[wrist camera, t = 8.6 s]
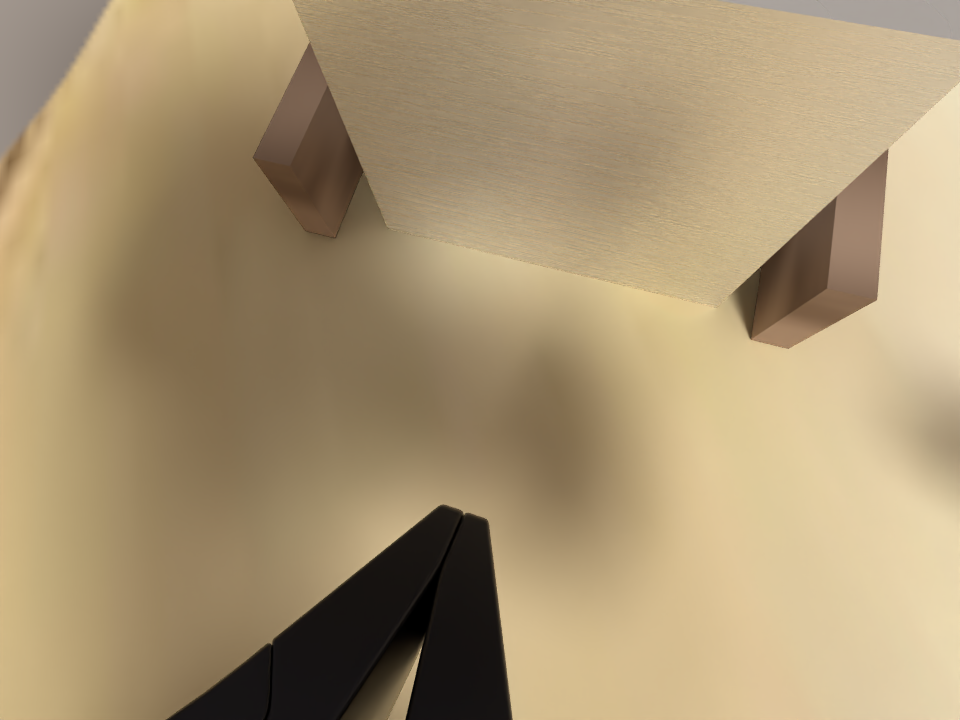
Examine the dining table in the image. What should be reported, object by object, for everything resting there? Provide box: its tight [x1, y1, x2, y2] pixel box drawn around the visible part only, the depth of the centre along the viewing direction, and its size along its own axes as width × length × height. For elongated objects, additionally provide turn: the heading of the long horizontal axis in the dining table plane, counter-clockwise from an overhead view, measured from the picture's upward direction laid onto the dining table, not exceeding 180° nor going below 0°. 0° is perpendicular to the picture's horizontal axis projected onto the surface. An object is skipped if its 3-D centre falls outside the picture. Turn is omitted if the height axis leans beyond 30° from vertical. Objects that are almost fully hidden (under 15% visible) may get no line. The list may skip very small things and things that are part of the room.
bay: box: [253, 43, 888, 349], centre depth 17 cm, size 11×17×4 cm, turn 74°
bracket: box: [293, 0, 960, 307], centre depth 14 cm, size 8×12×10 cm
